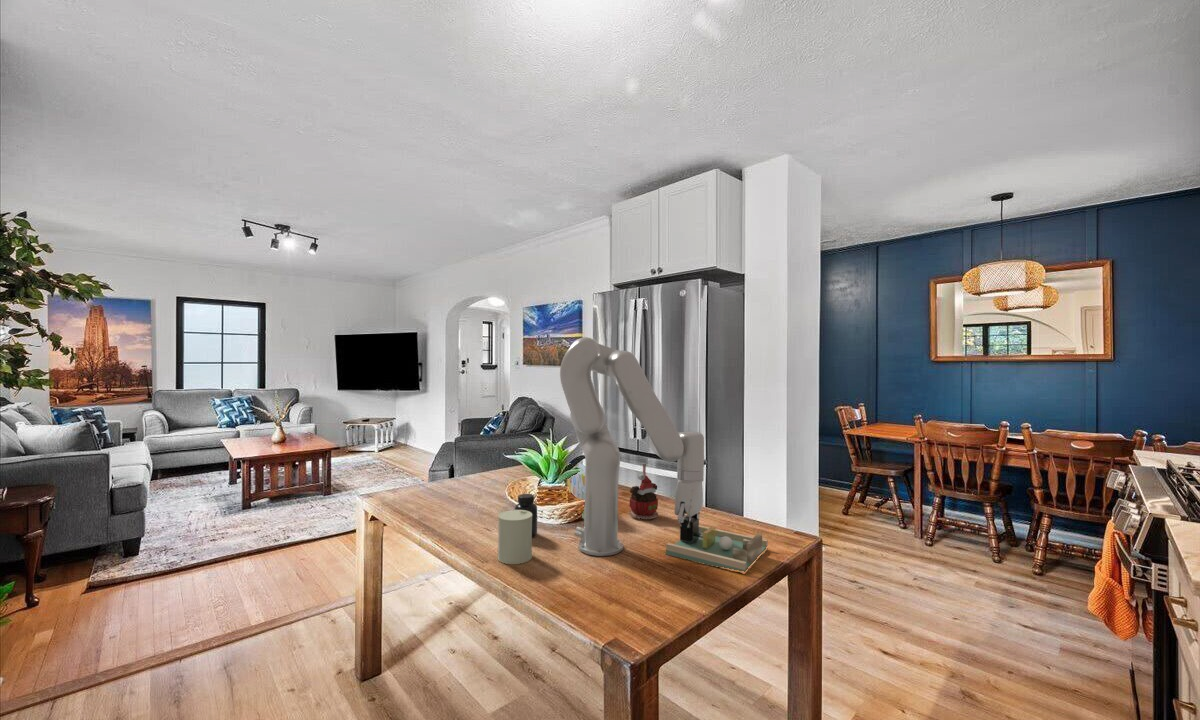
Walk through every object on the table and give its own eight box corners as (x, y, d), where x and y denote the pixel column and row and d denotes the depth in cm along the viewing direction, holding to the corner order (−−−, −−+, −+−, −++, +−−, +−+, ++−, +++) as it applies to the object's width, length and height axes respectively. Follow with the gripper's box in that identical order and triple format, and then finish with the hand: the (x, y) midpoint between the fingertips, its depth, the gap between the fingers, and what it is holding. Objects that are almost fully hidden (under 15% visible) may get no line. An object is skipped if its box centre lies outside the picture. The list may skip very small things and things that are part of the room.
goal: (732, 558, 133) (733, 540, 133) (744, 547, 141) (744, 530, 141) (751, 562, 130) (751, 544, 130) (761, 551, 138) (762, 534, 138)
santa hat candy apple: (646, 510, 177) (647, 459, 177) (664, 517, 170) (665, 464, 170) (622, 515, 172) (623, 463, 171) (639, 523, 164) (640, 468, 164)
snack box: (601, 520, 166) (601, 474, 166) (585, 522, 164) (585, 476, 164) (579, 502, 186) (580, 462, 186) (565, 503, 184) (566, 463, 184)
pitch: (665, 554, 138) (666, 544, 138) (695, 533, 155) (695, 524, 155) (744, 574, 126) (744, 563, 126) (767, 549, 142) (767, 540, 142)
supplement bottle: (539, 531, 154) (539, 493, 154) (534, 539, 148) (534, 499, 147) (517, 530, 155) (518, 492, 155) (511, 538, 148) (512, 498, 148)
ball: (717, 550, 138) (717, 537, 138) (721, 546, 141) (722, 533, 141) (729, 553, 136) (730, 540, 136) (734, 549, 139) (734, 536, 139)
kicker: (678, 541, 143) (678, 520, 143) (687, 535, 149) (687, 515, 149) (706, 548, 139) (707, 527, 139) (715, 541, 144) (715, 520, 144)
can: (539, 555, 136) (539, 511, 136) (515, 567, 128) (516, 520, 128) (514, 548, 141) (515, 505, 141) (490, 558, 133) (490, 514, 133)
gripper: (690, 468, 154) (689, 527, 154) (665, 478, 140) (664, 543, 140) (713, 471, 150) (712, 532, 150) (690, 482, 136) (689, 550, 136)
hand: (689, 537), depth 145 cm, fingers closed on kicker, 4 cm apart
